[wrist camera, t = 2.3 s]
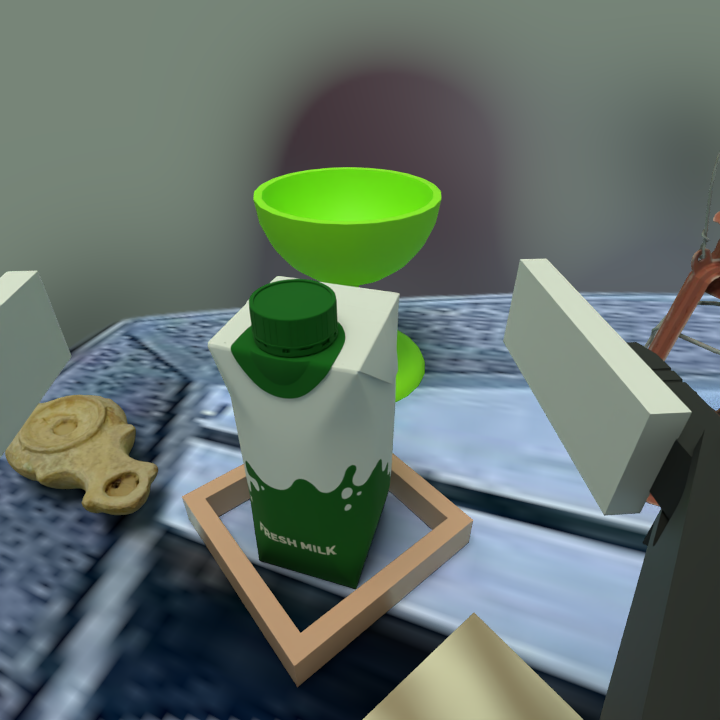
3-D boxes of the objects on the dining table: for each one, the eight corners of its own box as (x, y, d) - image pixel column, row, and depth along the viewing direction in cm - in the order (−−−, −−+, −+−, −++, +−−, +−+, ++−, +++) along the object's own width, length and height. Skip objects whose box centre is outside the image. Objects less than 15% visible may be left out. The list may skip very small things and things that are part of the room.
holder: (343, 432, 44) (342, 411, 43) (468, 542, 35) (473, 520, 34) (188, 518, 37) (181, 496, 35) (297, 687, 28) (294, 666, 26)
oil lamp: (143, 546, 35) (123, 500, 32) (-31, 513, 37) (-64, 466, 34) (210, 441, 43) (199, 397, 40) (65, 419, 46) (45, 375, 43)
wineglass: (282, 324, 59) (266, 167, 49) (415, 323, 60) (427, 167, 49) (264, 413, 46) (237, 225, 36) (436, 410, 47) (458, 223, 36)
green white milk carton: (240, 569, 33) (178, 307, 22) (294, 471, 40) (268, 235, 29) (365, 607, 31) (370, 340, 20) (399, 497, 38) (417, 253, 27)
